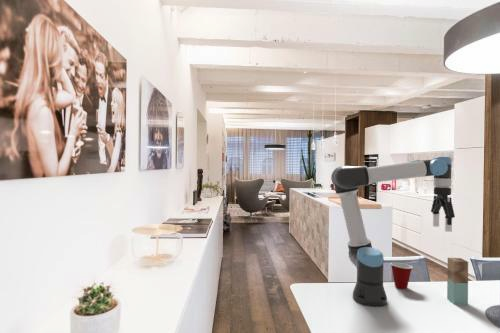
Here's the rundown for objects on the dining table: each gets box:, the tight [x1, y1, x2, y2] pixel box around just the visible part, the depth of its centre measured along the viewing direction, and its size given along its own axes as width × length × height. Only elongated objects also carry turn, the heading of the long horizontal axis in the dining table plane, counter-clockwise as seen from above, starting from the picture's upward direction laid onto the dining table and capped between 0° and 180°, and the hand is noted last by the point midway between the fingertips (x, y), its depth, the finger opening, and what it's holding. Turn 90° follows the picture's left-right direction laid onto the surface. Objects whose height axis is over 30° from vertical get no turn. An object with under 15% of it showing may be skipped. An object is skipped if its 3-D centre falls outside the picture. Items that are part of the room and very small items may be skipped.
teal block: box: [446, 277, 469, 306], centre depth 143 cm, size 6×6×10 cm
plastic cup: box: [390, 262, 414, 290], centre depth 161 cm, size 11×11×12 cm
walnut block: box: [446, 257, 469, 285], centre depth 143 cm, size 6×6×10 cm
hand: (441, 228), depth 154 cm, fingers open, 13 cm apart
